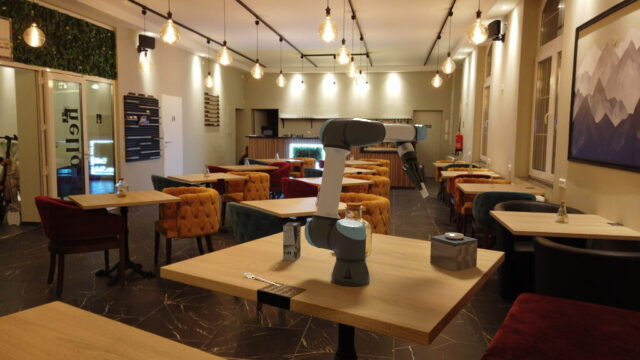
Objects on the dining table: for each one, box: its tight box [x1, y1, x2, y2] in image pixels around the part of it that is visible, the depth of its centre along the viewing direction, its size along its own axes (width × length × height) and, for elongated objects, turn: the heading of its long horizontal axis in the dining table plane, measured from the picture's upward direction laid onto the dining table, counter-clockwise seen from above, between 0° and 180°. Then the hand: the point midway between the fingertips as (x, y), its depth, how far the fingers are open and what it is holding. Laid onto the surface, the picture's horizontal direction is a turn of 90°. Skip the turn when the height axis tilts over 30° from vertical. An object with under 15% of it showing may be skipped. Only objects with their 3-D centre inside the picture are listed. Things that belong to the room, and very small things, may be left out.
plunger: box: [444, 232, 465, 240], centre depth 201 cm, size 8×8×13 cm
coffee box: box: [282, 221, 302, 262], centre depth 210 cm, size 9×6×16 cm
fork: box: [243, 271, 281, 287], centre depth 178 cm, size 3×20×2 cm, turn 50°
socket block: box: [429, 234, 479, 272], centre depth 201 cm, size 14×14×12 cm
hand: (425, 196), depth 211 cm, fingers closed
